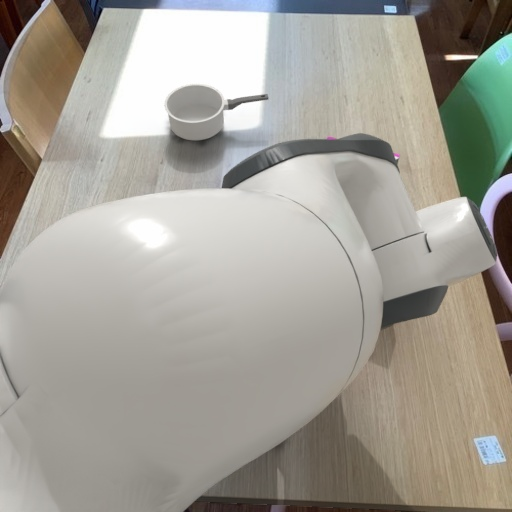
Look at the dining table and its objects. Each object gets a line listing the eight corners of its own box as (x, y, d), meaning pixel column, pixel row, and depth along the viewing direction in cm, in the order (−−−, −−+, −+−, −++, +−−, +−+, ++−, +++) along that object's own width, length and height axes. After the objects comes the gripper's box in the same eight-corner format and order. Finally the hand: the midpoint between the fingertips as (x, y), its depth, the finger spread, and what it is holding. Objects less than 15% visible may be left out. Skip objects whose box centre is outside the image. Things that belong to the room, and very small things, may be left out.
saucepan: (272, 137, 94) (273, 114, 89) (170, 148, 92) (165, 125, 87) (263, 100, 100) (263, 77, 95) (167, 109, 98) (163, 86, 94)
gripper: (334, 199, 61) (257, 240, 69) (339, 350, 49) (246, 376, 58) (363, 223, 64) (286, 259, 73) (373, 368, 53) (281, 391, 61)
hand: (269, 312), depth 65 cm, fingers open, 8 cm apart
